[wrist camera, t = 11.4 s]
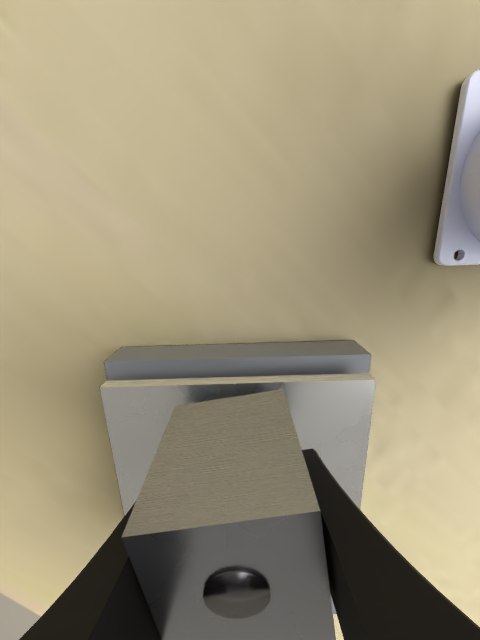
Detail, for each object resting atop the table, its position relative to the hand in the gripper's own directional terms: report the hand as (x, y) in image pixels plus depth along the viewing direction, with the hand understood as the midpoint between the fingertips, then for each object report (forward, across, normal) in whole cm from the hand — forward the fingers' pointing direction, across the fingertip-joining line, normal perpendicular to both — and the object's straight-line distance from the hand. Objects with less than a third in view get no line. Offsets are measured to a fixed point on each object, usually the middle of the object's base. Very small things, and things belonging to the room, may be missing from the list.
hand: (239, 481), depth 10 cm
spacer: (+2, 0, 0) cm, 2 cm away
